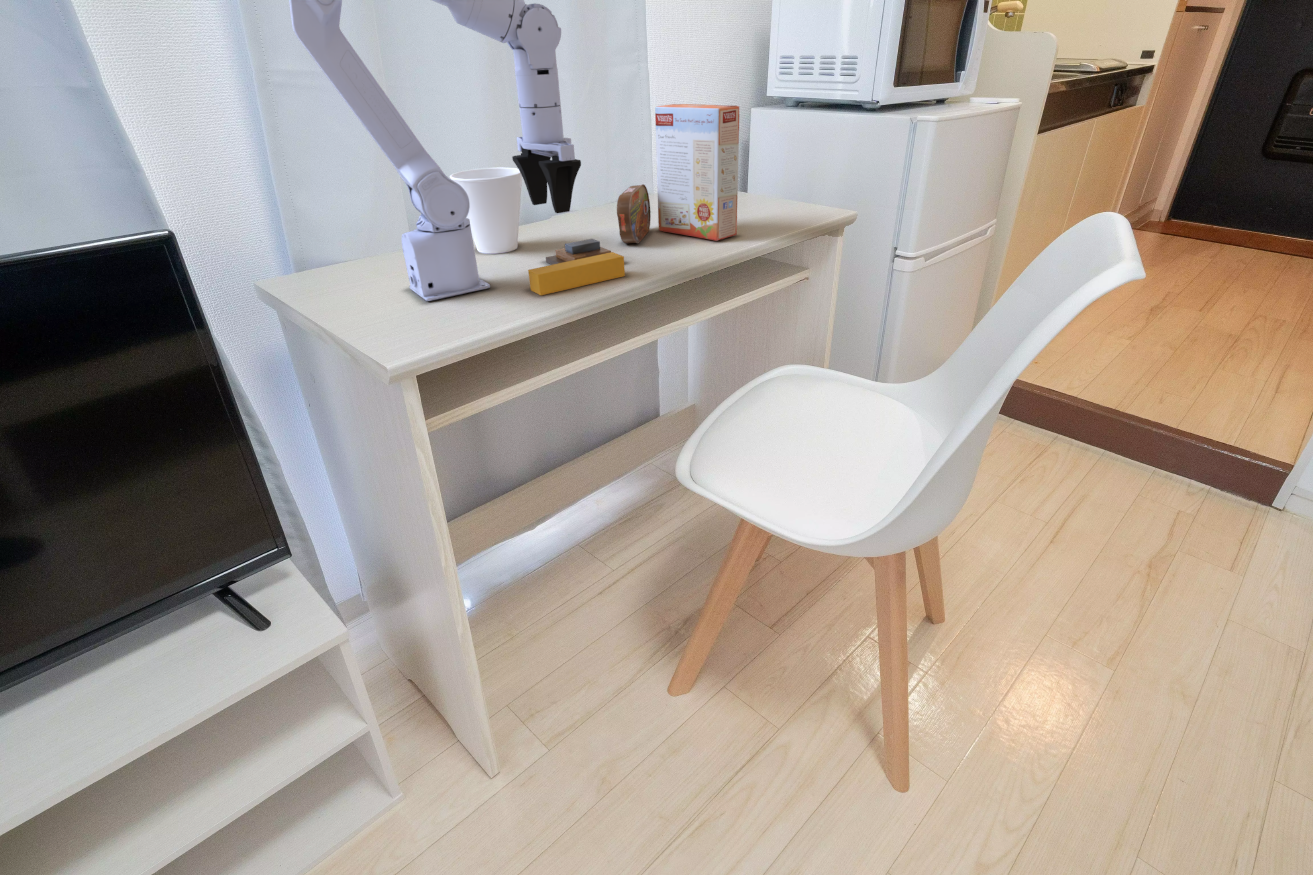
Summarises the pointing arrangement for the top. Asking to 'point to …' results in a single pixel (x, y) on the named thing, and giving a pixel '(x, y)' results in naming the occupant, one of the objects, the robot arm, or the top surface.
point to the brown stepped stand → (577, 251)
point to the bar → (576, 273)
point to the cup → (493, 206)
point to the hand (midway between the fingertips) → (550, 208)
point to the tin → (633, 214)
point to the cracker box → (697, 169)
